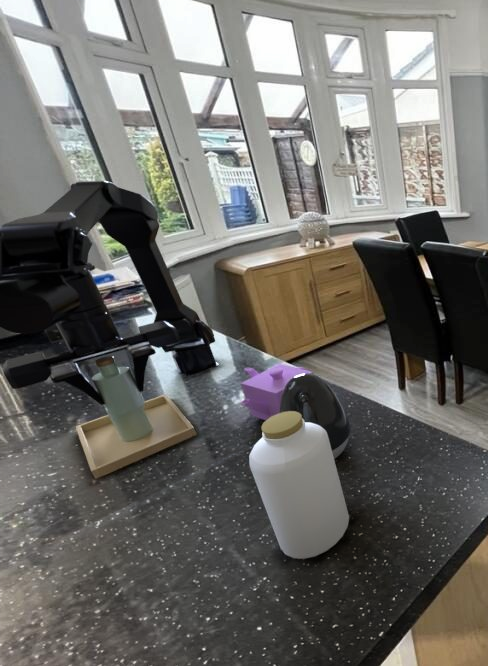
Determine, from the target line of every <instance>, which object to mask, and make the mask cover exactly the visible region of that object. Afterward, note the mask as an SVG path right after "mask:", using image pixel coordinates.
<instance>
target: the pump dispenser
mask: <svg viewBox="0 0 488 666" xmlns="http://www.w3.org/2000/svg"><path fill="white" fill-rule="evenodd" d="M287 411H295V412H299V413H300V414H301V415H302V418H303V419H304V421H305V422H310V423H314V424H317V425H319V426H321V427H322V428H323V429H325V431H326V432H327V435H328V438H329V442H330V446H331V449H332V453H333V457H334V460H336V459H337V458H338V457H340V455H341V454H342V453H343V452H344V451H345V449H346V446H348V443H349V440H350V439H349V438H350V434H351V430H352V429H351V423H350V420H349V417H348V414H347V413H346V410H345V408H344V407H343V405H342V403H341V400H339V398H338V396H337V395H336V393H335V392H334V390H333V389H332V387H330V385H328V383H327V382H326V381H325V380H323V379H322V378H321V377H320V376H318V375H316V374H315V373H314V374H310V373H303V374H299V375H296V376H294V377H293V378H291V379H290V380H289V381H288V382H287V384H286V386H285V388H284V390H283V393H282V396H281V401H280V410H279V413H282V412H287Z"/></svg>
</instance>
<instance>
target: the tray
mask: <svg viewBox="0 0 488 666" xmlns="http://www.w3.org/2000/svg"><path fill="white" fill-rule="evenodd" d="M142 406H143V408H144V410H145V412H146V414H147V416H148V418H149V420H150V422H151V424H152V427H153V430H152V431H151V432H150V433H149V434H148V435H146V436H144V437H142V438H140V439H137V440H134V441H129V442H124V441H122V440H121V439H120V437H119V435H118V433H117V431H116V429H115V427H114V425H113V423H112V422H111V420H110V418H109V416H108V414H107V415H104V416H100V417H98V418H96V419H93V420H90V421H87V422H84V423H81V424H79V425H76V426H75V429H76V432H77V435H78V438H79V441H80V444H81V446H82V449H83V452H84V455H85V457H86V462H87V463H88V466H89V468H90V471H91V473H92V475H93V477H94V478H95V479H99V478H101V477H103V476H106V475H109V474H110V473H112V472H114V471H117V470H119V469H122V468H124V467H127V466H128V465H131V464H133V463H135V462H138V461H139V460H142V459H145V458H147V457H149V456H152V455H153V454H156V453H158V452H160V451H163V450H165V449H167V448H169V447H172V446H174V445H176V444H179V443H181V442H183V441H186V440H188V439H190V438H193V437H195V436H197V435H198V433H197V432H196V429H195V427H194V426H193V425H192V423H191V422H190V421H189V420H188V418H187V417H186V416H185V414H183V412H182V411H181V410H180V409H179V407H178V406H177V405H176V403H175V402H174V401H173V400H172V398H170V397H169V395H168V394H167V393H164V394H162V395H159V396H157V397H153V398H150V399H148V400H145V403H144V404H143V405H142Z"/></svg>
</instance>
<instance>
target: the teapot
mask: <svg viewBox="0 0 488 666" xmlns="http://www.w3.org/2000/svg"><path fill="white" fill-rule="evenodd" d="M243 370H244V371H246V373H247V374H248V375H249V376H250V378H248V379H247V380H245V381H243V382H241V383H240V386H241V388H242V391H243V394H244V397H245V398H244V399H243V400H242V401H241V402H240V405H242V406H244V407H246V408H249V411H250V414H251V416H252V417H254V418H257V419H260V420H264V421H266V420H267V419H269V418H270V417H272V416H274V415H276V414H279V410H280V401H281V396H282V393H283V390H284V388H285V386H286V384H287V382H288V381H289V380H290V379H291V378H293V377H294V376H296V375H299V374H303V373H310V374H314V375H315V373H314V372H313V371H310V370H307V368H305V367H302V366H297V367H295V366H291V365H286V364H284V363H283V364H282V363H278V364H275V365H274V366H272V367H269V368H268V369H266V370H264V371H262V372H260V373H259V372H258V371H257V370H255V368H253V367H249V366H247V367H244V368H243Z"/></svg>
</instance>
